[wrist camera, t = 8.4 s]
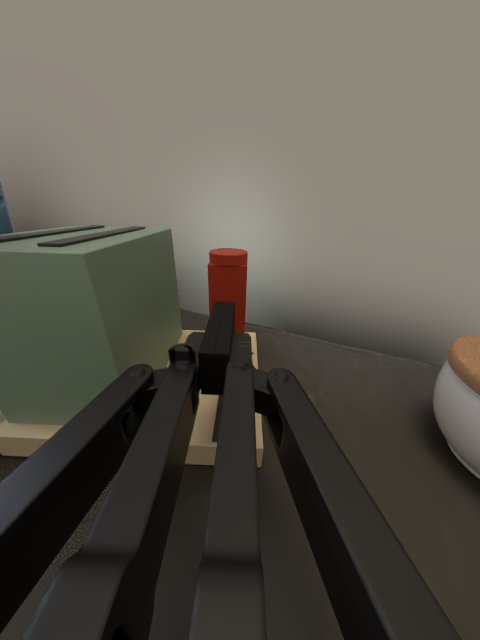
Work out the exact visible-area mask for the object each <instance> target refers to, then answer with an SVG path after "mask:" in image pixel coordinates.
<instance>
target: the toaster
mask: <svg viewBox="0 0 480 640" xmlns="http://www.w3.org/2000/svg"><path fill="white" fill-rule="evenodd" d="M192 332H205V331H197V330H182V325H181V316H180V307H179V299H178V289H177V279H176V270H175V261H174V251H173V243H172V234H171V228H146V227H115V226H101V225H90V226H83V225H80V226H71V227H62V228H53V229H46V230H36V231H27V232H18V233H9V234H1V235H0V411H1V412H2V414H3V415H4V417H5V418H6V420H5V421H4V422H3V423H1V424H0V453H1V454H2V455H4V456H25V457H29V456H30V455H32V454H33V453H34V452H35V451H36V450H37V449H38V448H39V447H40V446H42V445H43V444H44V443H45V442H46V441H47V440H48V439H49V438H50V437H52V436H53V435H54V434H55V433H56V432H57V431H58V430H59V429H61V428H62V427H63V426H64V425H65V424H66V423H67V422H68V421H69V420H71V419H72V418H73V417H74V416H75V415H76V414H77V413H78V412H80V411H81V410H82V409H83V408H84V407H85V406H86V405H87V404H88V403H90V402H91V401H92V400H93V399H94V398H95V397H96V396H97V395H99V394H100V393H101V392H102V391H103V390H104V389H105V388H106V387H107V386H109V385H110V384H111V383H112V382H113V381H114V380H115V379H116V378H117V377H119V376H120V375H121V374H122V373H123V372H124V371H125V370H127V369H128V368H129V367H131V366H134V365H137V364H148V365H150V366H151V367H152V368H153V370H158V369H163V368H167V367H169V365H170V360H169V353H168V350H169V348H170V347H172V346H174V345H176V344H180V343H185V341H186V339H187V337H188V335H189V334H191V333H192ZM244 333H248V334H249V335H250V336H251V343H252V363H253V365H254V367H255V368H256V369H258V360H257V345H256V333H250V332H244ZM222 400H223V395H204V394H201V388H200V392H199V406H198V410H197V414H196V419H195V423H194V427H193V431H192V436H191V440H190V444H189V448H188V452H187V457H186V461H185V464H197V465H214V463H215V455H216V447H217V439H218V432H219V424H220V416H221V408H222ZM255 425H256V451H257V467H261V464H262V455H263V435H262V420H261V414H258V413H256V412H255Z"/></svg>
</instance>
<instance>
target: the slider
mask: <svg viewBox="0 0 480 640" xmlns="http://www.w3.org/2000/svg"><path fill="white" fill-rule="evenodd" d="M247 254H248V253H247V251H245V250H241V249H232V248H221V249H214V250H211V251H210V252H209V256H210V262H209V264H208V283H209V284H208V285H209V309H210V315H211V312H212V309H213V306H214V303H215V301H221V302H235V333H244V330H245V306H246V282H247V281H246V280H247Z"/></svg>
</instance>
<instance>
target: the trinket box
mask: <svg viewBox="0 0 480 640" xmlns="http://www.w3.org/2000/svg"><path fill="white" fill-rule="evenodd" d="M433 409H434V414H435V418H436V421H437V423H438V426H439V428H440V430H441V432H442V433H443V435H444V437H445V438H446V441H447V444H448V446H449V448H450V449H451V451H452V452H453V454H454V455H455V456H456V458H457V459H458V460H459V461H460V462H461V463H462V464H463V465H464V466H465V467H466V468H467V469H468V470H469V471H470V472H471V473H472V474H474V475H475V476H476V477H477V478H478V479H480V335H471V336H466V337H462V338H459V339H457V340H456V341H454V343H453V344H452V346H451V347H450V349H449V351H448V353H447V359H446V361H445V362H444V364H443V366H442V368H441V370H440V372H439V374H438V377H437V380H436V383H435V388H434V394H433Z"/></svg>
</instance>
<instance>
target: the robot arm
mask: <svg viewBox="0 0 480 640" xmlns="http://www.w3.org/2000/svg"><path fill="white" fill-rule="evenodd" d="M9 233H15V232H14V227H13V223H12V220H11V217H10V213H9V209H8V206H7V203H6V199H5V196H4V192H3V190H2V186H1V183H0V235H1V234H9ZM168 353H169V360H170V365H169V367H167V368H163V369H158V370H153V368H152V367H151V366H150V365H148V364H137V365H134V366H131V367H129V368H128V369H127V370H125V371H124V372H123V373H122V374H121V375H120V376H119V377H117V378H116V379H115V380H114V381H113V382H112V383H111V384H110V385H109V386H107V387H106V388H105V389H104V390H103V391H102V392H101V393H100V394H99V395H97V396H96V397H95V398H94V399H93V400H92V401H91V402H90V403H88V404H87V405H86V406H85V407H84V408H83V409H82V410H81V411H80V412H78V413H77V414H76V415H75V416H74V417H73V418H72V419H71V420H69V421H68V422H67V423H66V424H65V425H64V426H63V427H62V428H61V429H59V430H58V431H57V432H56V433H55V434H54V435H53V436H52V437H50V438H49V439H48V440H47V441H46V442H45V443H44V444H43V445H42V446H40V447H39V448H38V449H37V450H36V451H35V452H34V453H33V454H32V455H30V456H29V457H28V458H27V459H26V460H25V461H24V462H23V463H21V464H20V465H19V466H18V467H17V468H16V469H15V470H14V471H13V472H11V473H10V474H9V475H8V476H7V477H6V478H5V479H4V480H2V481H1V482H0V634H1V632H2V631H3V629H4V628H5V627H6V625H7V624H8V622H9V621H10V620H11V618H12V617H13V615H14V614H15V613H16V611H17V610H18V609H19V607H20V606H21V604H22V603H23V602H24V600H25V599H26V597H27V596H28V595H29V593H30V592H31V590H32V589H33V588H34V586H35V585H36V584H37V582H38V581H39V579H40V578H41V577H42V575H43V574H44V572H45V571H46V570H47V568H48V567H49V565H50V564H51V563H52V561H53V560H54V558H55V557H56V556H57V554H58V553H59V552H60V550H61V549H62V547H63V546H64V545H65V543H66V542H67V540H68V539H69V538H70V536H71V535H72V533H73V532H74V531H75V529H76V528H77V527H78V525H79V524H80V522H81V521H82V520H83V518H84V517H85V515H86V514H87V513H88V511H89V510H90V508H91V507H92V506H93V504H94V503H95V502H96V500H97V499H98V497H99V496H100V495H101V493H102V492H103V490H104V489H105V488H106V486H107V485H108V483H109V482H110V481H111V479H112V478H113V476H114V475H115V474H116V472H117V471H118V470H119V471H118V473H117V475H116V477H115V479H114V481H113V483H112V485H111V487H110V490H109V492H108V494H107V496H106V498H105V500H104V502H103V504H102V506H101V508H100V510H99V512H98V514H97V517H96V519H95V521H94V523H93V525H92V527H91V529H90V531H89V533H88V535H87V537H86V539H85V541H84V543H83V545H82V547H81V548H80V549H79V551H78V552H77V553H76V554H74V555H73V556H71V557H70V558H68V559H67V560H66V561H65V562H64V563H63V565H62V566H61V567H60V568H59V570H58V571H57V573H56V574H55V576H54V578H53V579H52V581H51V583H50V585H49V586H48V588H47V590H46V592H45V594H44V596H43V598H42V600H41V602H40V604H39V606H38V607H37V609H36V611H35V613H34V615H33V617H32V619H31V621H30V623H29V625H28V627H27V629H26V631H25V633H24V634H23V636H22V638H21V640H148V637H149V633H150V628H151V623H152V616H153V610H154V596H155V589H156V584H157V579H158V575H159V571H160V567H161V562H162V558H163V554H164V550H165V545H166V541H167V537H168V533H169V529H170V524H171V520H172V516H173V512H174V507H175V503H176V499H177V495H178V490H179V486H180V482H181V478H182V474H183V469H184V465H185V461H186V457H187V452H188V448H189V444H190V440H191V436H192V431H193V427H194V423H195V419H196V414H197V410H198V406H199V392H200V388H201V394H204V395H223V400H222V408H221V416H220V424H219V432H218V439H217V447H216V455H215V463H214V471H213V479H212V487H211V495H210V502H209V510H208V518H207V526H206V534H205V542H204V549H203V555H202V560H201V563H200V566H199V571H198V576H197V583H196V590H195V597H194V605H193V612H192V619H191V627H190V634H189V640H266V617H265V595H264V578H263V568H262V563H261V553H260V529H259V503H258V477H257V451H256V425H255V412H256V413H258V414H261V415H264V420H265V422H266V425H267V428H268V431H269V434H270V436H271V439H272V442H273V445H274V447H275V450H276V453H277V456H278V458H279V461H280V464H281V467H282V469H283V472H284V475H285V478H286V480H287V483H288V486H289V489H290V492H291V494H292V497H293V500H294V503H295V505H296V508H297V511H298V514H299V516H300V519H301V522H302V525H303V527H304V530H305V533H306V536H307V538H308V541H309V544H310V547H311V549H312V552H313V555H314V558H315V561H316V563H317V566H318V569H319V572H320V574H321V577H322V580H323V583H324V585H325V588H326V591H327V594H328V596H329V599H330V602H331V605H332V607H333V610H334V613H335V616H336V618H337V621H338V624H339V627H340V630H341V632H342V635H343V638H344V640H462V639H461V638H460V636H459V635H458V633H457V632H456V630H455V628H454V627H453V625H452V624H451V622H450V620H449V619H448V617H447V616H446V614H445V613H444V611H443V609H442V608H441V606H440V605H439V603H438V601H437V600H436V598H435V597H434V595H433V594H432V592H431V590H430V589H429V587H428V586H427V584H426V583H425V581H424V579H423V578H422V576H421V575H420V573H419V571H418V570H417V568H416V567H415V565H414V564H413V562H412V560H411V559H410V557H409V556H408V554H407V552H406V551H405V549H404V548H403V546H402V545H401V543H400V541H399V540H398V538H397V537H396V535H395V533H394V532H393V530H392V529H391V527H390V526H389V524H388V522H387V521H386V519H385V518H384V516H383V515H382V513H381V511H380V510H379V508H378V507H377V505H376V503H375V502H374V500H373V499H372V497H371V496H370V494H369V492H368V491H367V489H366V488H365V486H364V484H363V483H362V481H361V480H360V478H359V477H358V475H357V473H356V472H355V470H354V469H353V467H352V465H351V464H350V462H349V461H348V459H347V458H346V456H345V454H344V453H343V451H342V450H341V448H340V446H339V445H338V443H337V442H336V440H335V439H334V437H333V435H332V434H331V432H330V431H329V429H328V428H327V426H326V424H325V423H324V421H323V420H322V418H321V416H320V415H319V413H318V412H317V410H316V409H315V407H314V405H313V404H312V402H311V401H310V399H309V397H308V396H307V394H306V393H305V391H304V390H303V388H302V386H301V385H300V383H299V382H298V380H297V378H296V377H295V375H294V374H293V373H292V372H290V371H289V370H287V369H283V368H275V369H272V370H271V371H269V373H265V372H262V371H260V370H258V369H256V368H255V367H254V365H253V363H252V343H251V336H250V335H249V334H248V333H235V302H221V301H215V303H214V306H213V309H212V312H211V315H210V318H209V321H208V324H207V327H206V330H205V332H192V333H191V334H189V335H188V337H187V339H186V341H185V343H180V344H176V345H174V346H172V347H170V348H169V350H168ZM119 468H120V469H119Z"/></svg>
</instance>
